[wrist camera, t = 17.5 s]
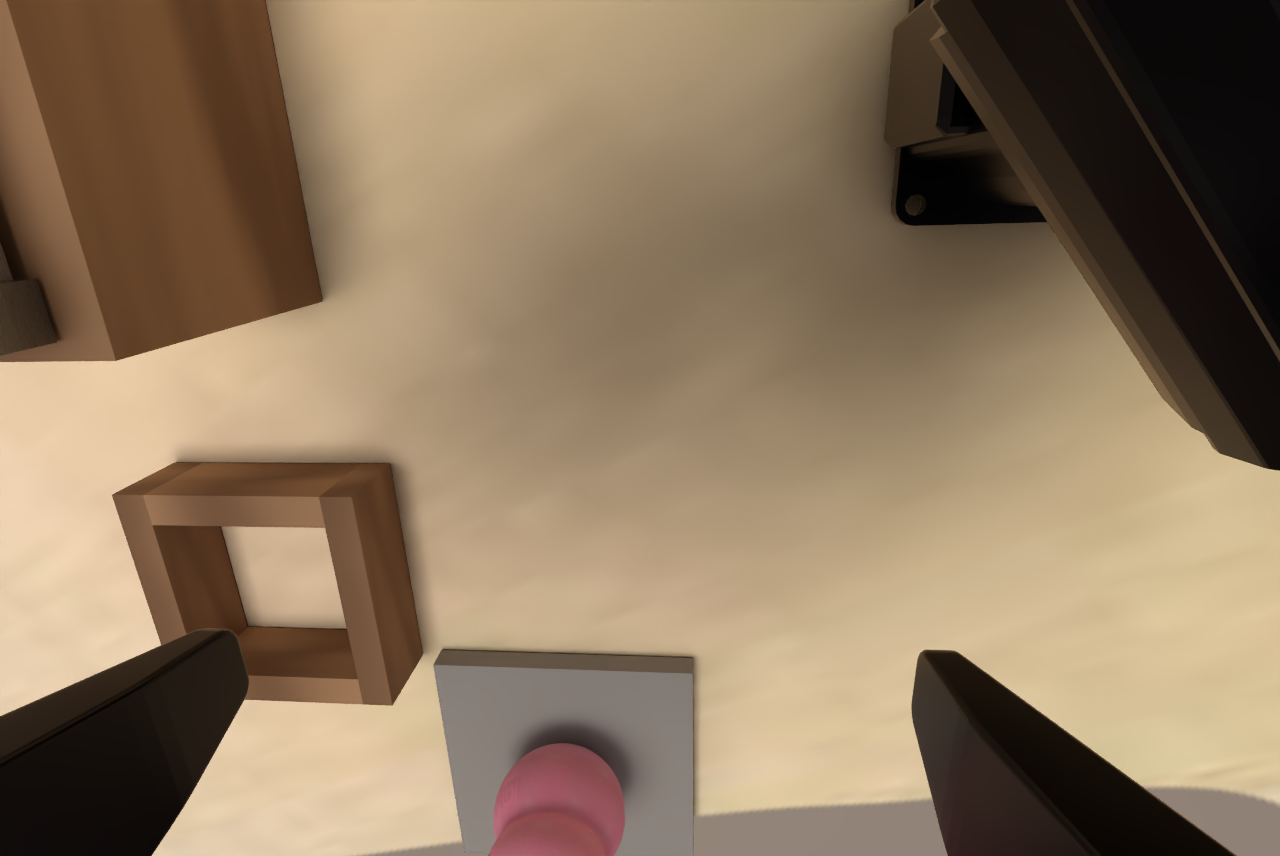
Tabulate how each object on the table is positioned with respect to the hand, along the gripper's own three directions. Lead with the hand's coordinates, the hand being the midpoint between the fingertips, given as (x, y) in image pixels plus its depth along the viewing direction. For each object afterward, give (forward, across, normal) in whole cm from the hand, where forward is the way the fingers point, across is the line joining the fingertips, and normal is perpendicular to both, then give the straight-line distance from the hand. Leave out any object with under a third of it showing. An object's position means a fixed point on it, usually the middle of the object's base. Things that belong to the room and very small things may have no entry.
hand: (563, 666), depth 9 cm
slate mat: (+12, +3, +14) cm, 19 cm away
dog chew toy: (+11, +3, +14) cm, 18 cm away
